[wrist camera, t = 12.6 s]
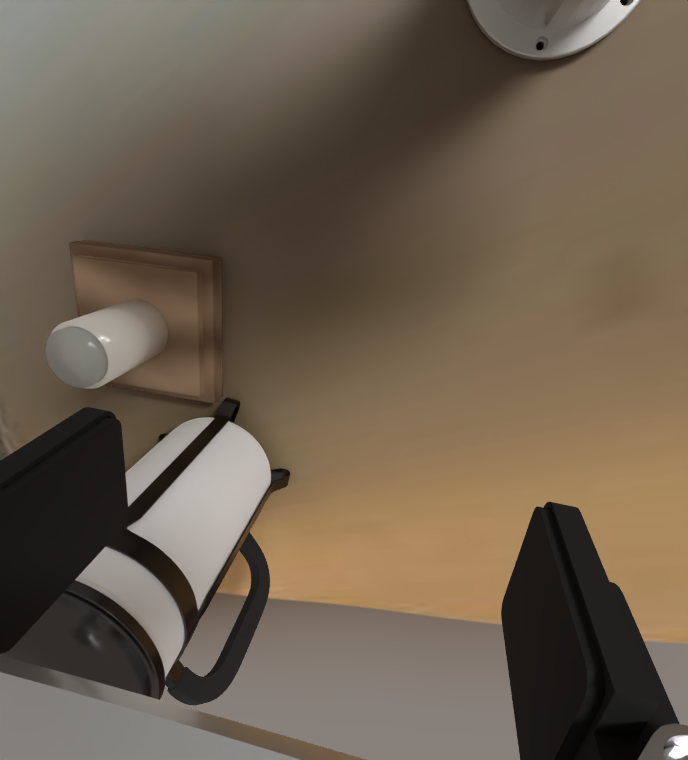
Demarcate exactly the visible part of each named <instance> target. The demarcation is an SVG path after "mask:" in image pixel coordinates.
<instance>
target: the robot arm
mask: <svg viewBox="0 0 688 760" xmlns="http://www.w3.org/2000/svg"><path fill="white" fill-rule="evenodd" d="M640 1H641V0H626V5H625V6H623V5H622V4H621V3H620V0H467V3H468V6H469V8H470V11H471V14H472V16H473V18H474V20H475V21H476V23H477V24H478V26H479V28H480V29H481V31H482V32H483V33H484V34H485V35H486V36H487V37H488V38H489V39H490V41H491V42H492V43H493V44H495V45H496V46H498V47H499V48H501V49H502V50H504V51H505V52H507V53H509V54H512V55H515V56H517V57H520V58H523V59H530V60H539V61H543V60H553V59H560V58H563V57H567V56H570V55H573V54H576V53H579V52H580V51H582V50H584V49H586V48H588V47H590V46H592V45H594V44H596V43H597V42H598V41H600V40H601V39H602V38H604V37H605V36H606V35H608V34H609V33H610V32H612V31H613V30H614V29H615V28H616V27H617V26H618V25H619V24H620V23H621V22H622V21H624V20H625V19H626V17H627V16H628V15H629V14H630V13H631V12H632V11H633V9H634V8H635V7H636V6H637V5H638V3H639V2H640ZM538 43H541V44H542V45H543V48H542V50H537V49H536V44H538ZM128 514H129V510H128V498H127V487H126V475H125V464H124V452H123V440H122V429H121V423H120V421H119V420H117V419H116V417H115V415H114V414H113V413H112V412H110V411H105V410H100V409H95V408H90V407H86V408H83V409H81V410H80V411H78V412H77V413H75V414H73V415H72V416H70V417H69V418H67V419H66V420H64V421H62V422H61V423H59V424H58V425H56V426H55V427H53V428H51V429H50V430H48V431H47V432H45V433H43V434H42V435H40V436H39V437H37V438H36V439H34V440H32V441H31V442H29V443H28V444H26V445H25V446H23V447H21V448H20V449H18V450H17V451H15V452H14V453H12V454H10V455H9V456H7V457H6V458H4V459H3V460H1V461H0V653H6V652H7V651H9V650H10V649H11V648H13V647H14V646H15V645H16V643H17V642H18V641H19V640H20V639H21V638H22V637H23V636H24V635H25V634H26V633H27V632H28V630H29V629H30V628H31V627H32V626H33V625H34V624H35V623H36V622H37V621H38V620H39V618H40V617H41V616H42V615H43V614H44V613H45V612H46V611H47V610H48V609H49V608H50V607H51V605H52V604H53V603H54V602H55V601H56V600H57V599H58V598H59V597H60V596H61V595H62V593H63V592H64V591H65V590H66V589H67V588H68V587H69V586H70V585H71V584H72V583H73V582H74V580H75V579H76V578H77V577H78V576H79V575H80V574H81V573H82V572H83V571H84V570H85V568H86V567H87V566H88V565H89V564H90V563H91V562H92V561H93V560H94V559H95V558H96V557H97V555H98V554H99V553H100V552H101V551H102V550H103V549H104V548H105V547H106V546H107V545H108V544H109V542H110V541H111V540H112V539H113V538H114V537H115V536H116V535H117V534H118V533H119V532H120V530H121V529H122V528H123V527H124V525H125V524H126V521H127V519H128ZM501 616H502V625H503V632H504V640H505V647H506V655H507V662H508V670H509V678H510V685H511V692H512V700H513V707H514V715H515V722H516V729H517V738H518V745H519V753H520V760H688V726H687V725H681V724H679V721H678V719H677V717H676V715H675V712H674V710H673V708H672V705H671V703H670V701H669V698H668V696H667V694H666V692H665V689H664V687H663V685H662V682H661V680H660V678H659V675H658V673H657V671H656V669H655V666H654V664H653V662H652V659H651V657H650V655H649V653H648V650H647V648H646V646H645V643H644V641H643V639H642V636H641V634H640V632H639V629H638V627H637V625H636V623H635V620H634V618H633V616H632V613H631V611H630V609H629V606H628V604H627V602H626V600H625V597H624V595H623V593H622V591H621V590H620V588H619V586H617V585H616V584H615V583H612V582H609V580H608V577H607V575H606V573H605V570H604V568H603V565H602V563H601V560H600V558H599V556H598V553H597V551H596V548H595V546H594V544H593V541H592V539H591V536H590V534H589V531H588V529H587V527H586V524H585V522H584V519H583V517H582V515H581V512H580V510H579V509H578V508H576V507H572V506H567V505H563V504H558V503H553V502H547V503H546V504H545V506H544V508H542V507H536V508H535V510H534V512H533V515H532V518H531V520H530V523H529V526H528V529H527V532H526V535H525V538H524V541H523V544H522V547H521V549H520V552H519V555H518V558H517V561H516V564H515V567H514V570H513V573H512V576H511V578H510V581H509V584H508V587H507V590H506V593H505V596H504V599H503V603H502V611H501ZM0 760H366V759H362V758H359V757H355V756H352V755H348V754H345V753H342V752H338V751H334V750H331V749H327V748H324V747H321V746H318V745H314V744H311V743H307V742H304V741H300V740H297V739H294V738H290V737H286V736H283V735H280V734H277V733H273V732H269V731H266V730H263V729H259V728H255V727H252V726H249V725H245V724H242V723H238V722H235V721H232V720H228V719H224V718H221V717H217V716H214V715H211V714H207V713H203V712H200V711H197V710H193V709H190V708H186V707H182V706H179V705H176V704H172V703H169V702H165V701H162V700H158V699H155V698H151V697H148V696H144V695H141V694H137V693H134V692H130V691H127V690H123V689H120V688H116V687H113V686H109V685H105V684H102V683H98V682H95V681H91V680H88V679H84V678H81V677H77V676H74V675H70V674H66V673H63V672H59V671H56V670H52V669H48V668H45V667H41V666H38V665H34V664H31V663H27V662H23V661H20V660H16V659H13V658H9V657H5V656H2V655H0Z"/></svg>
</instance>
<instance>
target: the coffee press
mask: <svg viewBox="0 0 688 760" xmlns="http://www.w3.org/2000/svg"><path fill="white" fill-rule="evenodd" d="M239 407H240V401H237V400H234V399H230V398H226V399H225V400H224V402H223V404H222V406H221V408H220V410H219V412H218V414H217V416H216V417H215V418H211V417H203V418H196V419H192V420H189V421H186V422H184V423H182V424H181V425H179V426H178V427H176V428H175V429H174V430H173V431H171V432H170V433H169V434H162V435H160V436H159V441H158V444H157V445H156V446H155V447H153V448H152V449H151V450H150V451H149V452H148V453H147V454H146V455H145V456H143V457H142V458H141V459H140V460H139V461H138V462H137V463H136V464H135V465H133V466H132V467H131V468H130V469H129V470H128V471H127V472H126V473H125V475H126V487H127V498H128V510H129V514H128V519H127V521H126V524H125V525H124V527H123V528H122V529H121V530H120V532H119V533H118V534H117V535H116V536H115V537H114V538H113V539H112V540H111V541H110V542H109V544H108V545H107V546H106V547H105V548H104V549H103V550H102V551H101V552H100V553H99V554H98V555H97V557H96V558H95V559H94V560H93V561H92V562H91V563H90V564H89V565H88V566H87V567H86V568H85V570H84V571H83V572H82V573H81V574H80V575H79V576H78V577H77V578H76V579H75V580H74V582H73V583H72V584H71V585H70V586H69V587H68V588H67V589H66V590H65V591H64V592H63V593H62V595H61V596H60V597H59V598H58V599H57V600H56V601H55V602H54V603H53V604H52V605H51V607H50V608H49V609H48V610H47V611H46V612H45V613H44V614H43V615H42V616H41V617H40V618H39V620H38V621H37V622H36V623H35V624H34V625H33V626H32V627H31V628H30V629H29V630H28V632H27V633H26V634H25V635H24V636H23V637H22V638H21V639H20V640H19V641H18V642H17V643H16V645H15V646H14V647H13V648H11V649H10V650H9V651H7V652H6V653H0V655H2V656H5V657H9V658H13V659H16V660H20V661H23V662H27V663H31V664H34V665H38V666H41V667H45V668H48V669H52V670H56V671H59V672H63V673H66V674H70V675H74V676H77V677H81V678H84V679H88V680H91V681H95V682H98V683H102V684H105V685H109V686H113V687H116V688H120V689H123V690H127V691H130V692H134V693H137V694H141V695H144V696H148V697H151V698H155V699H158V700H160V699H161V697H162V694H163V691H164V687H165V685H166V686H167V687H168V692H169V693H170V694H171V695H172V696H173V697H174V698H175V699H177V700H178V701H180V702H182V703H184V704H188V705H199V704H203V703H207V702H210V701H212V700H214V699H216V698H217V697H219V696H220V695H221V694H222V693H223V692H224V691H225V690H226V689H227V688H228V686H229V685H230V684H231V682H232V681H233V679H234V677H235V675H236V673H237V672H238V669H239V667H240V665H241V663H242V660H243V658H244V656H245V654H246V652H247V649H248V647H249V644H250V642H251V640H252V637H253V635H254V632H255V630H256V628H257V625H258V623H259V620H260V618H261V616H262V613H263V610H264V607H265V605H266V602H267V598H268V594H269V588H270V576H269V569H268V565H267V561H266V559H265V556H264V554H263V552H262V550H261V549H260V547H259V545H258V544H257V542H256V541H255V539H254V538H253V536H252V535H251V534H250V529H251V528H252V526H253V524H254V523H255V521H256V519H257V517H258V515H259V514H260V512H261V510H262V508H263V506H264V504H265V502H266V501H267V499H268V497H269V496H270V494H271V493H272V492H274V491H276V490H279V489H281V488H284V487H286V486H287V485H288V481H289V477H290V472H289V471H288V470H286V469H275V470H270V465H269V462H268V459H267V456H266V454H265V452H264V450H263V449H262V447H261V446H260V444H259V443H258V442H257V441H256V439H255V438H254V437H253V436H252V435H251V434H249V433H248V432H247V431H246V430H244V429H243V428H241V427H240V426H238V425H236V424H234V421H235V418H236V415H237V413H238V410H239ZM277 479H278V480H277ZM272 480H276V481H274V482H272V483H271V481H272ZM270 483H271V485H270ZM239 550H240V552H241V553H242V554H243V556H244V557H245V559H246V561H247V562H248V564H249V567H250V571H251V588H250V591H249V594H248V597H247V599H246V601H245V603H244V605H243V608H242V610H241V612H240V614H239V616H238V618H237V621H236V623H235V625H234V627H233V629H232V631H231V633H230V635H229V637H228V639H227V642H226V644H225V646H224V648H223V650H222V652H221V654H220V656H219V658H218V660H217V662H216V664H215V666H214V667H213V669H212V670H211V671H210V672H209V673H208V674H207V675H206V676H204V677H200V676H198V675H196V674H194V673H193V672H192V671H191V670H190V669H188V667H184V666H183V665H182V663H181V662H180V661H179V659H180V657H181V656H182V654H183V652H184V650H185V648H186V647H187V645H188V643H189V641H190V639H191V637H192V635H193V633H194V631H195V629H196V627H197V624H198V622H199V620H200V618H201V616H202V615H203V614H204V612H205V611H206V609H207V607H208V605H209V604H210V602H211V600H212V598H213V596H214V594H215V593H216V591H217V589H218V587H219V586H220V584H221V582H222V580H223V578H224V576H225V575H226V573H227V571H228V569H229V567H230V566H231V564H232V562H233V560H234V558H235V557H236V555H237V553H238V551H239Z"/></svg>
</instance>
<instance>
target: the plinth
mask: <svg viewBox="0 0 688 760" xmlns="http://www.w3.org/2000/svg"><path fill="white" fill-rule="evenodd" d="M69 245H70V253H71V261H72V269H73V276H74V284H75V292H76V300H77V308H78V316H79V317H81V316H84V315H87V314H90V313H93V312H95V311H98V310H101V309H104V308H107V307H110V306H113V305H116V304H119V303H122V302H125V301H128V300H135V299H136V300H142V301H145V302H147V303H149V304H151V305H152V306H153V307H155V308H156V309H157V310H158V311H159V313H160V314H161V315H162V317H163V318H164V320H165V323H166V326H167V330H168V340H167V344H166V346H165V348H164V349H163V351H162V352H161V353H159V354H158V355H156V356H154V357H153V358H151V359H149V360H147V361H145V362H144V363H142V364H140V365H138V366H137V367H135V368H133V369H131V370H129V371H128V372H126V373H124V374H122V375H121V376H119V377H117V378H115V379H113V380H112V381H110V382H108V383H106V384H104V385H108V386H114V387H120V388H126V389H132V390H138V391H144V392H150V393H156V394H161V395H167V396H173V397H179V398H185V399H191V400H197V401H203V402H209V403H215V402H217V401H218V400H219V399H220V398H221V397H222V396H223V362H222V258H218V257H211V256H203V255H195V254H187V253H179V252H171V251H163V250H155V249H147V248H139V247H131V246H123V245H116V244H108V243H100V242H92V241H77V242H70V243H69Z"/></svg>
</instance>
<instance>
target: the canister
mask: <svg viewBox="0 0 688 760" xmlns="http://www.w3.org/2000/svg"><path fill="white" fill-rule="evenodd" d="M167 340H168V330H167V326H166V323H165V320H164V318H163V317H162V315H161V314H160V313H159V311H158V310H157V309H156V308H155V307H153V306H152V305H151V304H149V303H147V302H145V301H142V300H136V299H135V300H128V301H125V302H122V303H119V304H116V305H113V306H110V307H107V308H104V309H101V310H98V311H95V312H93V313H90V314H87V315H84V316H81V317H78V318H75V319H72V320H69V321H66V322H63V323H61V324H59V325H58V326H56V327H55V328H54V330H53V331H52V333H51V335H50V336H49V338H48V340H47V342H46V347H45V352H46V358H47V361H48V364H49V366H50V368H51V369H52V371H53V372H54V373H55V375H56V376H57V377H58V378H59V379H61V380H62V381H63V382H65V383H66V384H68V385H70V386H73V387H76V388H85V389H95V388H98V387H101V386H103V385H104V384H106V383H108V382H110V381H112V380H113V379H115V378H117V377H119V376H121V375H122V374H124V373H126V372H128V371H129V370H131V369H133V368H135V367H137V366H138V365H140V364H142V363H144V362H145V361H147V360H149V359H151V358H153V357H154V356H156V355H158V354H159V353H161V352H162V351H163V349H164V348H165V346H166V344H167Z"/></svg>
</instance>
